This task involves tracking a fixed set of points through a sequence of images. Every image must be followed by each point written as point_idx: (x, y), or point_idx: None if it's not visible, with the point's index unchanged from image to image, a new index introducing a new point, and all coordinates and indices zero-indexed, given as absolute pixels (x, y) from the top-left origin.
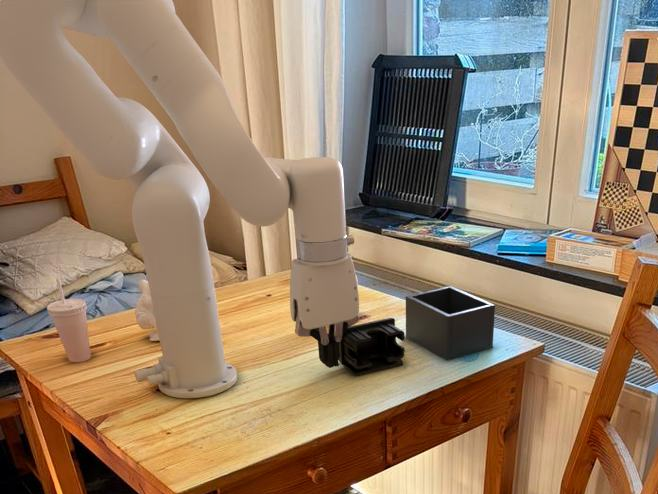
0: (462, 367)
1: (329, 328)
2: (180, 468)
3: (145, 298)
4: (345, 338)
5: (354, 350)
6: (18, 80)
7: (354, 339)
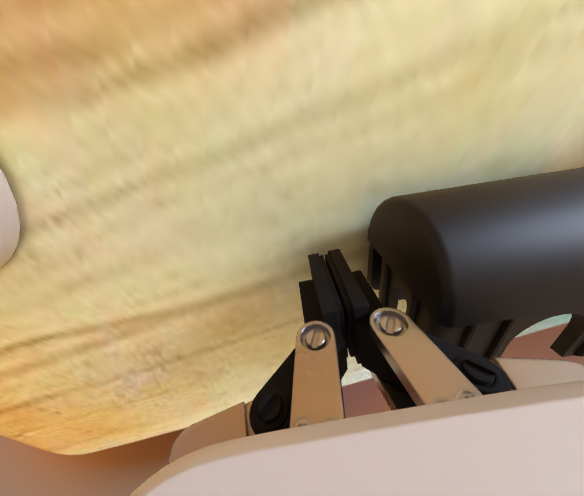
0: None
1: (392, 366)
2: (47, 436)
3: None
4: (427, 317)
5: None
6: None
7: None
